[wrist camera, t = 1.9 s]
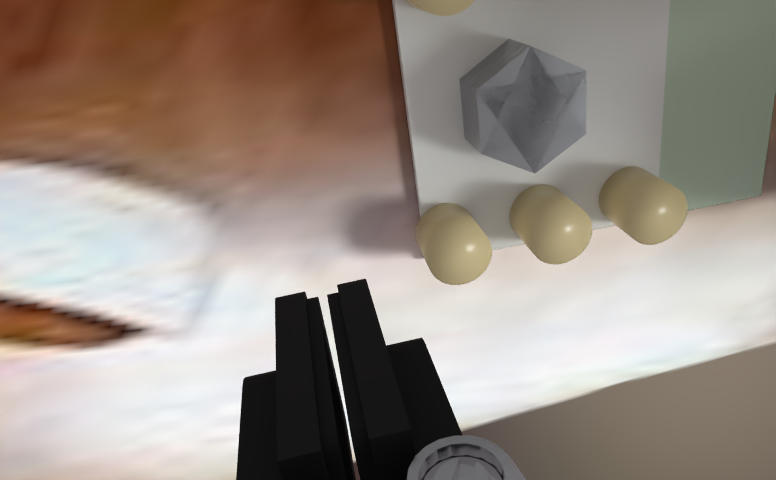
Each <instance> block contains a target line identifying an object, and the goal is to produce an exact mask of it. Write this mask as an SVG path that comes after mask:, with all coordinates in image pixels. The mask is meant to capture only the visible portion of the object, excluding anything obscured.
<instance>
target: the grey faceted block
mask: <svg viewBox="0 0 776 480" xmlns="http://www.w3.org/2000/svg"><path fill="white" fill-rule="evenodd" d="M586 75H587V70H585V69H582V68H580V67H578V66H576V65H573V64H571V63H569V62H566V61H564V60H562V59H560V58H557V57H555V56H553V55H550V54H548V53H546V52H543V51H541V50H539V49H537V48H534V47H532V46H529V45H527V44H524V43H521V42H518V41H515V40H512V39H508V40H506V41H505V42H504V43H503V44H501V45H500V46H499V47H498V48H497V49H495V50H494V51H493V52H492V53H490V54H489V55H488V56H487V57H486V58H484V59H483V60H482V61H481V62H480V63H478V64H477V65H476V66H475V67H473V68H472V69H471V70H470V71H469V72H467V73H466V74H465V75H464V76H463V77H461V78H460V79H459V81H460V92H461V104H462V115H463V127H464V138H465V139H466V140H467V141H468V142H469V143H470V144H471V145H472V146H473V147H474V148H475V149H476V150H477V151H478V152H480V153H481V154H482V155H485V156H488V157H491V158H493V159H496V160H499V161H502V162H504V163H507V164H510V165H513V166H515V167H518V168H521V169H524V170H526V171H529V172H532V173H536V172H538V171H539V170H540V169H542V168H543V167H544V166H546V165H547V164H548V163H549V162H551V161H552V160H553V159H555V158H556V157H557V156H558V155H560V154H561V153H562V152H564V151H565V150H566V149H567V148H569V147H570V146H571V145H573V144H574V143H575V142H577V141H578V140H579V139H580V138H582V137H583V136H584V135H586Z"/></svg>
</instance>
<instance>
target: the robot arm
mask: <svg viewBox="0 0 776 480" xmlns="http://www.w3.org/2000/svg"><path fill="white" fill-rule="evenodd" d="M337 287H338V291H339V292H338V293H333V294H329V295H327V297H328V303H329V309H330V315H331V320H332V326H333V332H334V338H335V344H336V350H337V356H338V362H339V368H340V374H341V380H342V385H343V391H344V397H345V403H346V409H347V415H348V421H349V427H350V432H351V438H352V443H353V448H354V453H355V457H356V462H357V466H358V471H359V475H360V479H361V480H526V479H525V478H524V476H523V475H522V474H521V472H520V471H519V469H518V468H517V467H516V465H515V464H514V462H513V461H512V460H511V458H510V457H509V456H508V455H507V454H506V453H505V452H504V451H503V450H502V449H501V448H500V447H499V446H497V445H496V444H494V443H492V442H490V441H488V440H486V439H482V438H478V437H474V436H463V435H462V433H461V430H460V428H459V426H458V423H457V421H456V418H455V416H454V413H453V411H452V408H451V406H450V403H449V401H448V398H447V396H446V394H445V391H444V389H443V386H442V384H441V381H440V379H439V376H438V374H437V371H436V369H435V366H434V364H433V361H432V359H431V357H430V354H429V352H428V349H427V347H426V344H425V342H424V340H423V339H422V338H418V339H414V340H409V341H405V342H400V343H396V344H391V345H387V346H386V344H385V341H384V337H383V334H382V331H381V328H380V324H379V321H378V318H377V314H376V311H375V308H374V304H373V301H372V298H371V294H370V291H369V288H368V284H367V281H366V279H362V280H357V281H353V282H348V283H343V284H339V285H337ZM275 326H276V371H271V372H267V373H262V374H258V375H254V376H249V377H245V378H244V380H243V388H242V403H241V418H240V433H239V447H238V462H237V477H236V480H356V478H355V472H354V466H353V460H352V453H351V447H350V441H349V435H348V429H347V424H346V418H345V413H344V409H343V404H342V400H341V395H340V391H339V387H338V382H337V378H336V373H335V369H334V364H333V360H332V356H331V351H330V347H329V342H328V338H327V333H326V329H325V325H324V320H323V316H322V311H321V307H320V303H319V299H318V297H315V298H310V299H307V296H306V293H305V292H301V293H296V294H292V295H287V296H282V297H277V298H275Z"/></svg>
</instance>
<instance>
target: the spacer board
mask: <svg viewBox="0 0 776 480" xmlns="http://www.w3.org/2000/svg"><path fill="white" fill-rule="evenodd" d="M392 4H393V12H394V20H395V28H396V35H397V43H398V51H399V59H400V66H401V74H402V82H403V90H404V97H405V105H406V113H407V121H408V128H409V136H410V144H411V152H412V159H413V167H414V175H415V183H416V190H417V198H418V206H419V214H420V219H419V221H418V223H417V226H416V231H415V236H416V241H417V244H418V246H419V248H420V250H421V252H422V254H423V256H424V258H425V260H426V262H427V265H428V267H429V269H430V271H431V272H432V274H433V275H434V276H435V277H436V278H437V279H438V280H440V281H441V282H443V283H446V284H450V285H461V284H465V283H468V282H471V281H473V280H475V279H476V278H478V277H479V276H480V275H481V274H482V273H483V272H484V271H485V270H486V268H487V267H488V265H489V263H490V260H491V256H492V250H497V249H502V248H507V247H512V246H517V245H522V244H526V245H527V247H528V248H529V249H530V250H531V251H532V252H533V254H534V255H535V256H536V257H537V258H538V259H539V260H541V261H543V262H545V263H548V264H562V263H566V262H568V261H571V260H572V259H574V258H576V257H577V256H578V255H580V254H581V253H582V252H583V250H584V249H585V248H586V246H587V245H588V243H589V241H590V238H591V235H592V230H595V229H600V228H605V227H610V226H614V225H616V226H618V227H619V228H620V229H622V230H623V231H624V232H625V233H627V234H628V235H629V236H630V237H632V238H633V239H634V240H636V241H637V242H639V243H642V244H647V245H652V244H658V243H661V242H663V241H665V240H667V239H669V238H670V237H672V236H673V235H674V234H675V233H676V232H677V231H678V230H679V229H680V227H681V226H682V224H683V222H684V220H685V218H686V215H687V211H688V210H693V209H698V208H703V207H707V206H712V205H717V204H722V203H727V202H732V201H737V200H742V199H747V198H751V197H756V196H761V190H762V183H763V177H764V170H765V163H766V156H767V149H768V142H769V135H770V128H771V121H772V114H773V107H774V100H775V94H776V0H392ZM508 39H512V40H515V41H518V42H521V43H524V44H527V45H529V46H532V47H534V48H537V49H539V50H541V51H543V52H546V53H548V54H550V55H553V56H555V57H557V58H560V59H562V60H564V61H566V62H569V63H571V64H573V65H576V66H578V67H580V68H582V69H585V70H587V75H586V135H584V136H583V137H582V138H580V139H579V140H578V141H577V142H575V143H574V144H573V145H571V146H570V147H569V148H567V149H566V150H565V151H564V152H562V153H561V154H560V155H558V156H557V157H556V158H555V159H553V160H552V161H551V162H549V163H548V164H547V165H546V166H544V167H543V168H542V169H540V170H539V171H538V172H536V173H532V172H529V171H526V170H524V169H521V168H518V167H515V166H513V165H510V164H507V163H504V162H502V161H499V160H496V159H493V158H491V157H488V156H485V155H482V154H481V153H480V152H478V151H477V150H476V149H475V148H474V147H473V146H472V145H471V144H470V143H469V142H468V141H467V140H466V139H465V138H464V127H463V115H462V104H461V92H460V81H459V79H460V78H461V77H463V76H464V75H465V74H466V73H467V72H469V71H470V70H471V69H472V68H473V67H475V66H476V65H477V64H478V63H480V62H481V61H482V60H483V59H484V58H486V57H487V56H488V55H489V54H490V53H492V52H493V51H494V50H495V49H497V48H498V47H499V46H500V45H501V44H503V43H504V42H505V41H506V40H508Z"/></svg>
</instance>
